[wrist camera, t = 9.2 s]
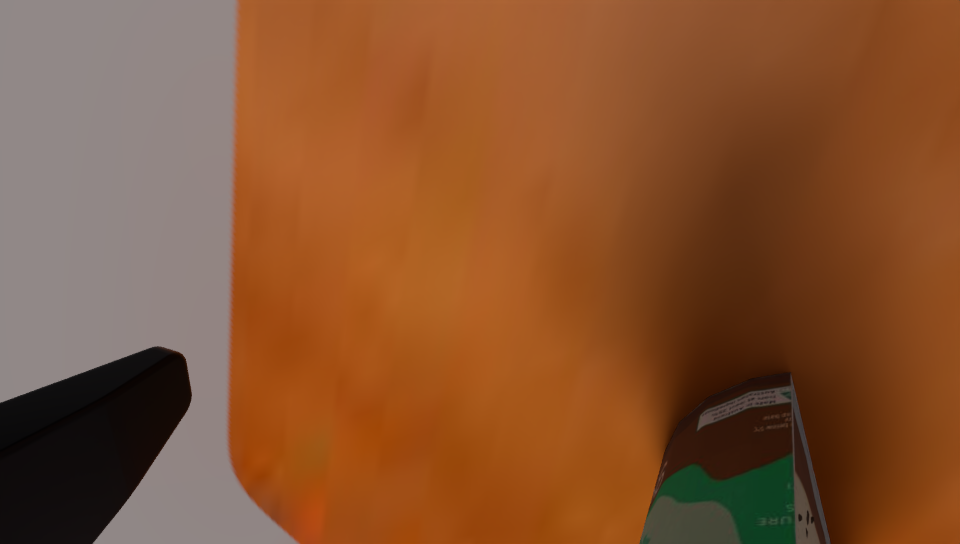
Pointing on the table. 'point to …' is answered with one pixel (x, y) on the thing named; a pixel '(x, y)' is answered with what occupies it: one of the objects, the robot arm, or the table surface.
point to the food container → (739, 473)
